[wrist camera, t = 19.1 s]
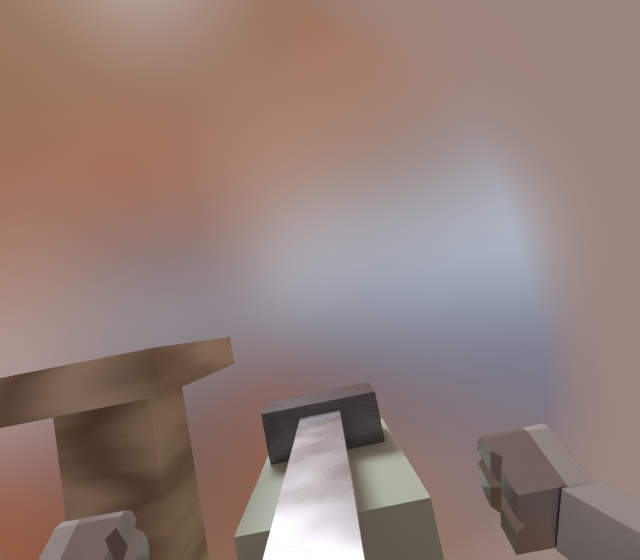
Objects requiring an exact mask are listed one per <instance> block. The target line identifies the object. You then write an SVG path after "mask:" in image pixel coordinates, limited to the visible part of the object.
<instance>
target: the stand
mask: <svg viewBox="0 0 640 560" xmlns="http://www.w3.org/2000/svg"><path fill="white" fill-rule="evenodd" d="M232 364H234V361H233V355H232V349H231V343H230V337H227V338H220V339H213V340H206V341H199V342H192V343H185V344H178V345H170V346H163V347H156V348H151V349H145V350H141V351H135V352H130V353H125V354H120V355H115V356H110V357H106V358H100V359H95V360H90V361H85V362H80V363H75V364H70V365H65V366H60V367H54V368H49V369H45V370H39V371H34V372H29V373H24V374H19V375H14V376H9V377H4V378H0V428H2V427H7V426H12V425H17V424H22V423H28V422H33V421H38V420H43V419H48V418H53V419H54V426H55V435H56V443H57V450H58V458H59V467H60V475H61V482H62V490H63V498H64V506H65V514H66V521H72V520H77V519H82V518H86V517H92V516H98V515H103V514H109V513H115V512H120V511H127V510H131V511H132V512H133V514H134V516H135V517H136V519H137V521H136V524H135V527H134V528H136V529H138V530H140V531H142V532H143V533H144V534H145V536H146V538H147V540H148V545H149V560H209V556H208V549H207V543H206V537H205V530H204V524H203V518H202V511H201V505H200V499H199V493H198V486H197V480H196V474H195V467H194V461H193V454H192V448H191V442H190V435H189V429H188V423H187V417H186V411H185V404H184V398H183V391H182V387H183V386H185V385H187V384H189V383H192V382H194V381H196V380H198V379H201V378H203V377H205V376H207V375H210V374H212V373H214V372H216V371H219V370H221V369H223V368H225V367H228V366H230V365H232Z"/></svg>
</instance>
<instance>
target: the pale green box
mask: <svg viewBox="0 0 640 560" xmlns="http://www.w3.org/2000/svg"><path fill="white" fill-rule="evenodd" d="M381 424H382V429H383V434H384V439H385V442H382V443H377V444H372V445H367V446H362V447H357V448H352V449H348V455H349V461H350V467H351V472H352V478H353V484H354V489H355V495H356V501H357V506H358V512H359V518H360V523H361V529H362V535H363V540H364V546H365V552H366V558H367V560H444V558H443V554H442V549H441V544H440V540H439V535H438V531H437V526H436V521H435V516H434V512H433V507H432V502H431V498H430V496H429V494H428V493H427V491H426V489H425V488H424V486H423V485H422V483H421V481H420V480H419V478H418V476H417V475H416V473H415V471H414V470H413V468H412V466H411V465H410V463H409V462H408V460H407V458H406V457H405V455H404V453H403V452H402V450H401V449H400V447H399V445H398V444H397V442H396V440H395V439H394V437H393V435H392V434H391V432H390V431H389V429H388V427H387V426H386V424H385V423H384V421H383V419H381ZM288 462H289V461H287V462H282V463H277V464H272V465H270V460H269V456H268V458H267V460H266V463H265V465H264V467H263V470H262V472H261V475H260V477H259V479H258V482H257V484H256V486H255V489H254V491H253V493H252V496H251V498H250V501H249V503H248V506H247V508H246V510H245V513H244V515H243V517H242V520H241V522H240V524H239V527H238V529H237V531H236V534H235V536H234V541H235V546H236V553H237V559H238V560H263V556H264V553H265V549H266V545H267V541H268V538H269V534H270V530H271V526H272V522H273V519H274V515H275V511H276V507H277V504H278V500H279V496H280V492H281V489H282V485H283V481H284V477H285V474H286V470H287V466H288Z"/></svg>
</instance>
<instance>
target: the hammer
mask: <svg viewBox="0 0 640 560" xmlns="http://www.w3.org/2000/svg"><path fill="white" fill-rule="evenodd" d="M261 415H262V420H263V426H264V431H265V437H266V443H267V448H268V454H269V460H270V465H272V464H277V463H282V462H287V461H289V462H288V466H287V470H286V474H285V477H284V481H283V485H282V489H281V492H280V496H279V500H278V504H277V507H276V511H275V515H274V519H273V522H272V526H271V530H270V534H269V538H268V541H267V545H266V549H265V553H264V556H263V560H367V558H366V552H365V546H364V540H363V535H362V529H361V523H360V518H359V512H358V506H357V501H356V495H355V489H354V484H353V478H352V472H351V467H350V461H349V455H348V449H352V448H357V447H362V446H367V445H372V444H377V443H382V442H385V439H384V434H383V429H382V424H381V419H380V414H379V410H378V405H377V400H376V395H375V391H374V390H373V389H372V387H371V386H370V384H369V383H362V384H357V385H353V386H348V387H342V388H338V389H332V390H327V391H322V392H317V393H312V394H307V395H302V396H297V397H292V398H287V399H282V400H277V401H272V402H270V403H269V404H268V406H267V407H266V408H265V410H264V411H263V413H262V414H261Z"/></svg>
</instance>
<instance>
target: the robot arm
mask: <svg viewBox="0 0 640 560" xmlns="http://www.w3.org/2000/svg"><path fill="white" fill-rule="evenodd" d="M478 451H479V453H480V454H481V456H482V459H481V460H480V462H479V463H478V470H479V477H480V481H481V485H482V488H483V491H484V493H485V495H486V498H487V500H488V502H489V504H490V506H491V507H492V508H494V509H495V510H497V511H498V512H500V513H501V527H502V528H503V530H504V532H505V534H506V536H507V538H508V540H509V542H510V544H511V545H512V547H513V549H514V551H515V553H516V554H517V555H518V554H524V553H529V552H534V551H540V550H546V549H552V548H556V550H557V551H558V552H560V553H561V554H562V555H563V556H565V557H566V558H567V559H568V560H640V500H638V499H636V498H634V497H633V496H631V495H629V494H627V493H625V492H623V491H621V490H619V489H617V488H615V487H613V486H611V485H609V484H607V483H605V482H604V481H602V480H599V481H593V480H592V478H591V477H590V476H589V475H588V474H587V472H586V471H585V470H584V469H583V468H582V467H581V465H580V464H579V463H578V462H577V461H576V459H575V458H574V457H573V456H572V455H571V453H570V452H569V451H568V450H567V449H566V447H565V446H564V445H563V444H562V443H561V442H560V440H559V439H558V438H557V437H556V435H555V434H554V433H553V432H552V431H551V430H550V429H549V427H548V426H546V425H545V424H539V425H535V426H529V427H524V428H521V429H519V428H518V429H514V430H509V431H505V432H500V433H496V434H491V435H486V436H482V437H479V439H478ZM136 521H137V519H136V517H135V516H134V514H133V512H132V511H131V510H127V511H120V512H115V513H109V514H103V515H98V516H92V517H86V518H82V519H77V520H72V521H66V522H62V523H61V524H60V525H59V526H58V527H56V529H55V530H54V532H53V533H52V535H51V537H50V539H49V541H48V543H47V545H46V547H45V549H44V551H43V552H42V554H41V556H40V558H39V560H149V545H148V540H147V538H146V536H145V534H144V533H143V532H142V531H140V530H138V529H136V528H134V527H135V524H136Z"/></svg>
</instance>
